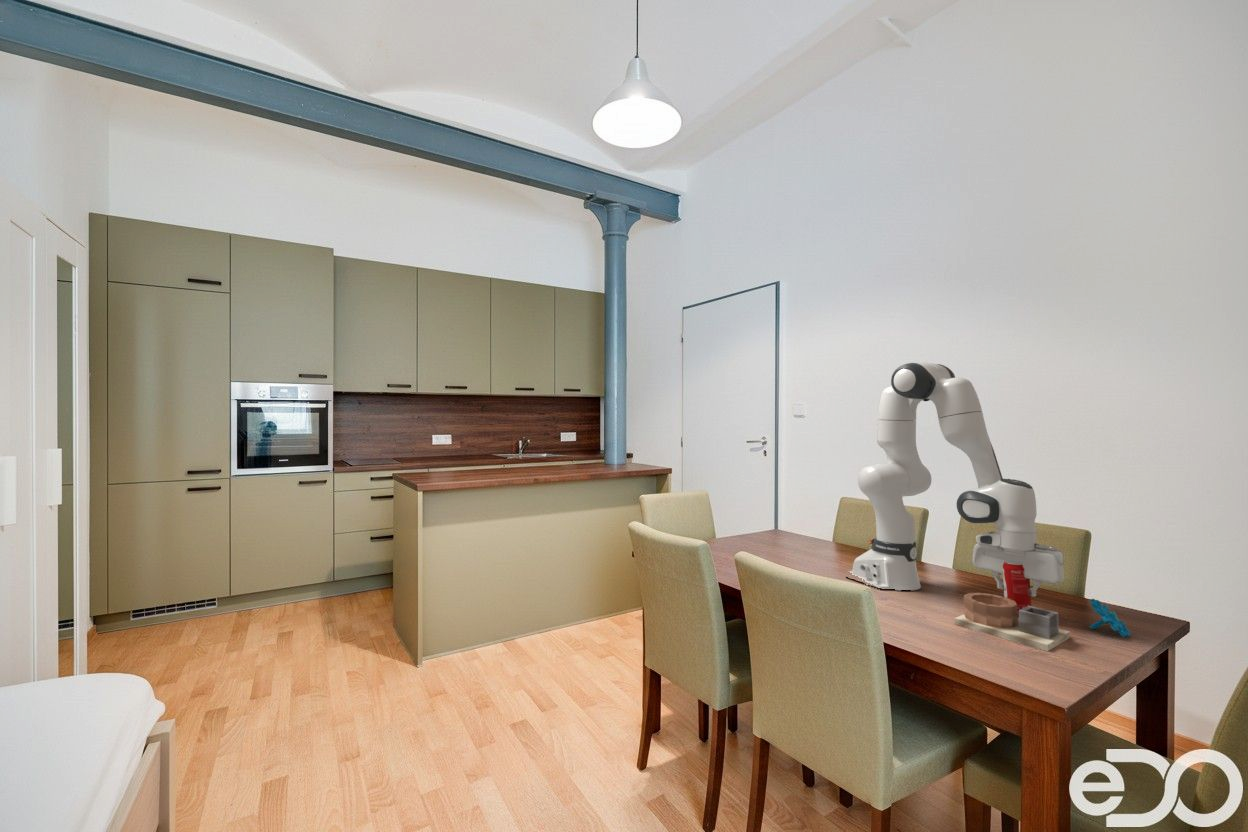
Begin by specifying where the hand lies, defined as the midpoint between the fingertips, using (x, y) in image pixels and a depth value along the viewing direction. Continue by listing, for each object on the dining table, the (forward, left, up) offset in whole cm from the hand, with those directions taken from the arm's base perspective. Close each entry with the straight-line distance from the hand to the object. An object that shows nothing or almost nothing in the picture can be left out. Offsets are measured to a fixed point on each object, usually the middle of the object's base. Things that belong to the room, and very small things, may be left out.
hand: (1016, 592), depth 145 cm
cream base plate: (+3, -12, -7) cm, 14 cm away
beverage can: (0, 0, -7) cm, 7 cm away
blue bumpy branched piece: (+17, +7, -7) cm, 20 cm away
